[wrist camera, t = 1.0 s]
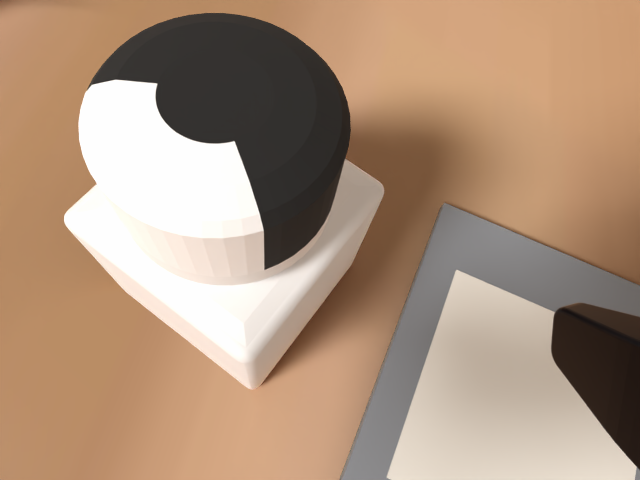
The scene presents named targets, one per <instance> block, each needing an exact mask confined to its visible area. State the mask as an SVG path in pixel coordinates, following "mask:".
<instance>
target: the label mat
mask: <svg viewBox="0 0 640 480" xmlns="http://www.w3.org/2000/svg"><path fill="white" fill-rule="evenodd" d="M574 303H586V304H591V305H595V306H599V307H603V308H607V309H611V310H615V311H619V312H623V313H627V314H631V315H635V316H639V317H640V285H637V284H635V283H633V282H630V281H628V280H625V279H623V278H621V277H618V276H616V275H614V274H611V273H609V272H607V271H604V270H602V269H600V268H597V267H595V266H592V265H590V264H588V263H585V262H583V261H581V260H578V259H576V258H574V257H571V256H569V255H567V254H564V253H562V252H559V251H557V250H555V249H552V248H550V247H548V246H545V245H543V244H541V243H538V242H536V241H534V240H531V239H529V238H526V237H524V236H522V235H519V234H517V233H515V232H512V231H510V230H508V229H505V228H503V227H501V226H498V225H496V224H493V223H491V222H489V221H486V220H484V219H482V218H479V217H477V216H475V215H472V214H470V213H468V212H465V211H463V210H460V209H458V208H456V207H453V206H451V205H449V204H446V203H444V204H443V205H442V207H441V208H440V210H439V213H438V216H437V218H436V221H435V224H434V227H433V229H432V232H431V235H430V237H429V240H428V243H427V245H426V248H425V251H424V253H423V256H422V259H421V262H420V264H419V267H418V270H417V272H416V275H415V278H414V280H413V283H412V286H411V288H410V291H409V294H408V297H407V299H406V302H405V305H404V307H403V310H402V313H401V315H400V318H399V321H398V323H397V326H396V329H395V332H394V334H393V337H392V340H391V342H390V345H389V348H388V350H387V353H386V356H385V358H384V361H383V364H382V366H381V369H380V372H379V375H378V377H377V380H376V383H375V385H374V388H373V391H372V393H371V396H370V399H369V401H368V404H367V407H366V410H365V412H364V415H363V418H362V420H361V423H360V426H359V428H358V431H357V434H356V436H355V439H354V442H353V445H352V447H351V450H350V453H349V455H348V458H347V461H346V463H345V466H344V469H343V471H342V474H341V477H340V480H640V470H639V469H638V468H637V467H636V466H635V465H634V464H633V462H632V461H631V460H630V459H629V458H628V457H627V456H626V455H625V453H624V452H623V451H622V450H621V449H620V448H619V446H618V445H617V444H616V443H615V442H614V441H613V439H612V438H611V437H610V435H609V434H608V433H607V432H606V430H605V429H604V428H603V427H602V425H601V424H600V423H599V421H598V420H597V419H596V417H595V416H594V415H593V413H592V412H591V411H590V409H589V408H588V407H587V405H586V404H585V403H584V401H583V400H582V399H581V397H580V396H579V395H578V393H577V392H576V391H575V389H574V388H573V387H572V385H571V384H570V383H569V381H568V380H567V379H566V377H565V376H564V375H563V373H562V372H561V371H560V369H559V368H558V367H557V365H556V363H555V362H554V360H553V357H552V354H551V340H552V328H553V317H554V313H555V312H556V310H557V309H558V308H560V307H563V306H567V305H571V304H574Z"/></svg>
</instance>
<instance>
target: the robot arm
mask: <svg viewBox="0 0 640 480" xmlns="http://www.w3.org/2000/svg"><path fill="white" fill-rule="evenodd" d="M551 354H552V357H553V360H554V362H555V363H556V365H557V367H558V368H559V369H560V371H561V372H562V373H563V375H564V376H565V377H566V379H567V380H568V381H569V383H570V384H571V385H572V387H573V388H574V389H575V391H576V392H577V393H578V395H579V396H580V397H581V399H582V400H583V401H584V403H585V404H586V405H587V407H588V408H589V409H590V411H591V412H592V413H593V415H594V416H595V417H596V419H597V420H598V421H599V423H600V424H601V425H602V427H603V428H604V429H605V430H606V432H607V433H608V434H609V435H610V437H611V438H612V439H613V441H614V442H615V443H616V444H617V445H618V446H619V448H620V449H621V450H622V451H623V452H624V453H625V455H626V456H627V457H628V458H629V459H630V460H631V461H632V462H633V464H634V465H635V466H636V467H637V468H638V469H639V470H640V317H639V316H635V315H631V314H627V313H623V312H619V311H615V310H611V309H607V308H603V307H599V306H595V305H591V304H586V303H574V304H571V305H567V306H563V307H560V308H558V309H557V310H556V312H555V313H554V317H553V328H552V340H551Z"/></svg>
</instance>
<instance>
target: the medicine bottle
mask: <svg viewBox="0 0 640 480" xmlns="http://www.w3.org/2000/svg"><path fill="white" fill-rule="evenodd" d="M350 132H351V129H350V113H349V108H348V103H347V99H346V97H345V94H344V91H343V89H342V86H341V85H340V83H339V81H338V79H337V77H336V76H335V74H334V73H333V71H332V70H331V69H330V67H329V66H328V65H327V63H326V62H325V61H324V60H323V59H322V58H321V57H320V56H319V55H318V54H317V53H316V52H315V51H314V50H313V49H311V48H310V47H309V46H307V45H306V44H305V43H304V42H302V41H301V40H300V39H298V38H297V37H296V36H294V35H292V34H290V33H289V32H287V31H285V30H284V29H282V28H279V27H277V26H275V25H273V24H271V23H268V22H265V21H262V20H259V19H256V18H251V17H247V16H242V15H235V14H226V13H204V14H194V15H187V16H183V17H178V18H174V19H170V20H167V21H164V22H161V23H158V24H156V25H154V26H152V27H150V28H147V29H145V30H143V31H142V32H140V33H138V34H137V35H135V36H133V37H132V38H130V39H129V40H128V41H126V42H125V43H124V44H123V45H121V46H120V47H119V48H118V49H117V50H116V51H115V52H114V53H113V54H112V55H111V56H110V57H109V58H108V59H107V60H106V61H105V63H104V64H103V65H102V66H101V68H100V69H99V70H98V72H97V73H96V75H95V76H94V77H93V79H92V81H91V83H90V85H89V87H88V89H87V91H86V93H85V96H84V99H83V103H82V106H81V111H80V118H79V140H80V145H81V149H82V154H83V157H84V160H85V162H86V164H87V167H88V169H89V171H90V173H91V175H92V176H93V178H94V179H95V181H96V183H97V184H96V185H95V186H94V187H93V188H92V189H91V190H90V191H89V192H87V193H86V194H85V195H84V196H83V197H82V198H81V199H80V200H79V201H78V202H77V203H75V204H74V205H73V206H72V207H71V208H70V209H69V210H68V211H67V212H66V214H65V215H64V222H65V225H66V226H67V228H68V229H69V230H70V231H71V232H72V233H73V234H74V236H75V237H76V238H77V239H78V240H79V241H80V242H81V243H82V244H83V245H84V247H85V248H86V249H87V250H88V251H89V252H90V253H91V254H92V255H93V256H94V258H95V259H96V260H97V261H98V262H99V263H100V264H101V265H102V266H103V267H104V269H105V270H106V271H107V272H108V273H109V274H110V275H111V276H112V277H113V278H114V280H115V281H116V282H117V283H118V284H119V285H120V286H121V287H122V288H123V289H124V291H125V292H127V293H128V294H129V295H130V296H132V297H133V298H134V299H135V300H137V301H138V302H139V303H140V304H142V305H143V306H144V307H146V308H147V309H148V310H149V311H151V312H152V313H153V314H154V315H156V316H157V317H158V318H159V319H161V320H162V321H163V322H165V323H166V324H167V325H168V326H170V327H171V328H172V329H173V330H175V331H176V332H177V333H178V334H180V335H181V336H182V337H184V338H185V339H186V340H187V341H189V342H190V343H191V344H192V345H194V346H195V347H196V348H197V349H199V350H200V351H201V352H202V353H204V354H205V355H206V356H208V357H209V358H210V359H211V360H213V361H214V362H215V363H216V364H218V365H219V366H220V367H221V368H223V369H224V370H225V371H227V372H228V373H229V374H230V375H232V376H233V377H234V378H235V379H237V380H238V381H239V382H240V383H242V384H243V385H244V386H245V387H247V388H249V389H257V388H258V387H259V386H260V385H261V384H262V383H263V381H264V380H265V379H266V377H267V376H268V375H269V373H270V372H271V371H272V369H273V368H274V367H275V365H276V364H277V363H278V361H279V360H280V359H281V357H282V356H283V355H284V353H285V352H286V351H287V350H288V348H289V347H290V346H291V344H292V343H293V342H294V340H295V339H296V338H297V336H298V335H299V334H300V332H301V331H302V330H303V328H304V327H305V326H306V324H307V323H308V322H309V320H310V319H311V318H312V316H313V315H314V314H315V313H316V311H317V310H318V309H319V307H320V306H321V305H322V303H323V302H324V301H325V299H326V298H327V297H328V295H329V294H330V293H331V291H332V290H333V289H334V287H335V286H336V285H337V283H338V282H339V281H340V279H341V278H342V277H343V275H344V274H345V273H346V272H347V270H348V269H349V268H350V266H351V265H352V263H353V261H354V258H355V256H356V254H357V252H358V250H359V248H360V245H361V243H362V241H363V239H364V237H365V235H366V233H367V230H368V228H369V226H370V224H371V222H372V220H373V217H374V215H375V213H376V211H377V209H378V207H379V204H380V202H381V200H382V198H383V195H384V187H383V185H382V184H381V183H380V182H379V181H378V180H376V179H375V178H373V177H372V176H370V175H369V174H367V173H366V172H364V171H363V170H361V169H360V168H359V167H357V166H356V165H354V164H353V163H351V162H350V161H348V160H347V159H345V157H346V154H347V150H348V146H349V139H350Z"/></svg>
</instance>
